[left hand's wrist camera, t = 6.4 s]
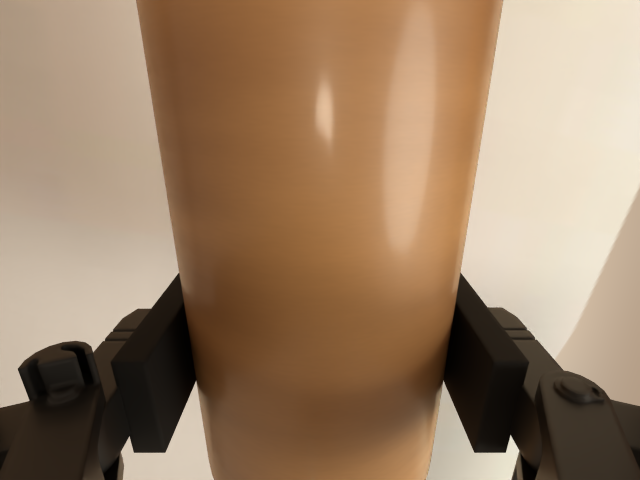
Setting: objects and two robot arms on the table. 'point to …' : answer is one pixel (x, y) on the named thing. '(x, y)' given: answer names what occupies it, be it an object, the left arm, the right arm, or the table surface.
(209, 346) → the rod
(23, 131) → the table surface
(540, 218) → the table surface
